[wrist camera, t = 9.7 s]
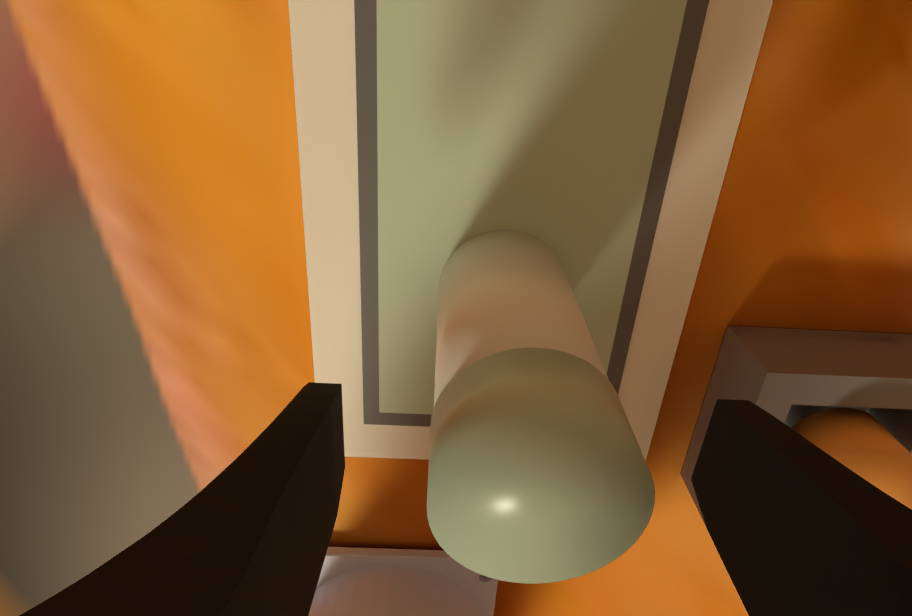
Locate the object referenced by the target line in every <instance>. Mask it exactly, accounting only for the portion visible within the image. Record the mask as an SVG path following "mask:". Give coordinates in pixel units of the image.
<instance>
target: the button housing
mask: <svg viewBox="0 0 912 616" xmlns="http://www.w3.org/2000/svg"><path fill="white" fill-rule="evenodd" d="M717 399H729V400H749V401H750V402H752V403H754V404H755V405H757V406H759V407H760V408H762V409H763V410H765V411H767V412H768V413H770V414H771V415H773V416H774V417H775V418H777V419H778V420H780V421H781V422H783V423H784V424H786V425H787V426H789V427H790V428H791V427H792V426H793V425H794V424H796V423H797V422H799V421H800V420H802V419H804V418H806V417H808V416H810V415H812V414H815V413H817V412H820V411H824V410H828V409H834V408H854V409H858V410H862V411H865V412H867V413H869V414H870V415H872V416H873V417H874V418H876V419H877V420H878V421H879V422H880V423H881V424H882V425H883V426H884V427H885V428H886V429H887V430H888V431H889V432H890V433H891V434H892V435H893V436H894V437H895V438H896V439H897V440H898V441H899V442H900V443H901V444H902V445H903V446H904V447H905V448H906V449H907V450H908V451H909V452H910V453H911V454H912V334H897V333H876V332H854V331H832V330H810V329H788V328H766V327H744V326H727V329H726V332H725V336H724V339H723V342H722V345H721V348H720V351H719V354H718V358H717V361H716V364H715V367H714V370H713V373H712V376H711V380H710V383H709V386H708V389H707V392H706V395H705V398H704V402H703V405H702V408H701V411H700V414H699V417H698V420H697V423H696V427H695V430H694V433H693V436H692V439H691V442H690V445H689V449H688V452H687V455H686V458H685V461H684V464H683V467H682V471H681V476H682V478H683V480H684V482H685V484H686V486H687V488H688V490H689V492H690V494H691V497H692V499H693V501H694V503H695V505H696V507H697V509H698V511H699V513H700V515H701V517H702V519H703V521H704V518H703V515H702V512H701V509H700V507H699V503H698V500H697V497H696V494H695V490H694V487H693V484H692V481H691V477H692V474H693V471H694V468H695V465H696V462H697V459H698V456H699V453H700V450H701V446H702V443H703V440H704V437H705V434H706V431H707V428H708V425H709V422H710V419H711V416H712V413H713V410H714V407H715V404H716V401H717ZM704 523H705V521H704ZM705 525H706V524H705ZM707 530H708V529H707Z"/></svg>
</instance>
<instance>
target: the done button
mask: <svg viewBox="0 0 912 616" xmlns="http://www.w3.org/2000/svg"><path fill="white" fill-rule="evenodd" d="M791 429H793V430H794V431H796V432H797V433H799V434H800V435H801V436H803V437H804V438H806V439H807V440H809V441H810V442H811V443H813V444H814V445H816V446H817V447H818V448H820V449H821V450H823V451H824V452H826V453H827V454H828V455H830V456H831V457H833V458H834V459H836V460H837V461H839V462H840V463H841V464H843V465H844V466H846V467H847V468H849V469H850V470H852V471H853V472H855V473H856V474H857V475H859V476H860V477H862V478H863V479H865V480H866V481H868V482H869V483H871V484H872V485H874V486H875V487H877V488H878V489H880V490H881V491H883V492H885V493H886V494H888V495H889V496H891V497H892V498H894V499H896V500H897V501H899V502H900V503H902V504H903V505H905V506H907V507H908V508H910V509H911V510H912V454H911V453H910V452H909V451H908V450H907V449H906V448H905V447H904V446H903V445H902V444H901V443H900V442H899V441H898V440H897V439H896V438H895V437H894V436H893V435H892V434H891V433H890V432H889V431H888V430H887V429H886V428H885V427H884V426H883V425H882V424H881V423H880V422H879V421H878V420H877V419H876V418H874V417H873V416H872V415H870V414H869V413H867V412H865V411H862V410H858V409H854V408H834V409H828V410H824V411H820V412H817V413H815V414H812V415H810V416H808V417H806V418H804V419H802V420H800V421H799V422H797V423H796V424H794V425H793V426H792V427H791Z"/></svg>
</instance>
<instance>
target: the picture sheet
mask: <svg viewBox="0 0 912 616" xmlns="http://www.w3.org/2000/svg"><path fill="white" fill-rule="evenodd" d="M288 3H289V17H290V32H291V46H292V60H293V75H294V89H295V104H296V118H297V132H298V147H299V161H300V175H301V190H302V204H303V219H304V233H305V247H306V262H307V276H308V291H309V305H310V319H311V334H312V348H313V362H314V377H315V383H335V384H342V408H343V432H344V455H345V457H369V458H396V459H423V460H429V445H430V424H431V417H432V412H433V409H434V390H435V365H436V341H437V317H438V293H439V280H440V276H441V272H442V270H443V268H444V265H445V263H446V262H447V260H448V258H449V257H450V256H451V255H452V253H453V252H454V251H455V250H456V249H457V248H458V247H459V246H460V245H462V244H463V243H465V242H466V241H467V240H469V239H471V238H473V237H475V236H477V235H480V234H482V233H486V232H490V231H496V230H513V231H519V232H523V233H527V234H529V235H532V236H534V237H536V238H538V239H540V240H541V241H542V242H544V243H545V244H547V245H548V246H549V247H550V248H551V249H552V250H553V252H554V253H555V254H556V256H557V257H558V259H559V261H560V262H561V264H562V267H563V269H564V272H565V274H566V277H567V279H568V282H569V284H570V286H571V289H572V291H573V294H574V296H575V299H576V301H577V304H578V306H579V308H580V311H581V313H582V316H583V318H584V321H585V323H586V326H587V328H588V330H589V333H590V335H591V338H592V340H593V343H594V345H595V348H596V350H597V352H598V355H599V357H600V360H601V362H602V365H603V367H604V370H605V372H606V375H607V377H608V379H609V381H610V382H611V384H612V385H613V387H614V389H615V390H616V392H617V394H618V397H619V399H620V401H621V404H622V406H623V409H624V411H625V413H626V416H627V418H628V421H629V423H630V425H631V428H632V430H633V433H634V435H635V437H636V440H637V442H638V445H639V447H640V449H641V452H642V454H643V457H644V459H645V461H646V458H647V454H648V451H649V447H650V444H651V440H652V436H653V433H654V429H655V425H656V422H657V418H658V415H659V411H660V407H661V404H662V400H663V397H664V393H665V389H666V386H667V382H668V379H669V375H670V371H671V368H672V364H673V361H674V357H675V353H676V350H677V346H678V342H679V339H680V335H681V332H682V328H683V324H684V321H685V317H686V314H687V310H688V306H689V303H690V299H691V296H692V292H693V288H694V285H695V281H696V278H697V274H698V270H699V267H700V263H701V259H702V256H703V252H704V249H705V245H706V241H707V238H708V234H709V231H710V227H711V223H712V220H713V216H714V213H715V209H716V205H717V202H718V198H719V195H720V191H721V187H722V184H723V180H724V177H725V173H726V169H727V166H728V162H729V158H730V155H731V151H732V148H733V144H734V140H735V137H736V133H737V130H738V126H739V122H740V119H741V115H742V112H743V108H744V104H745V101H746V97H747V94H748V90H749V86H750V83H751V79H752V75H753V72H754V68H755V65H756V61H757V57H758V54H759V50H760V47H761V43H762V39H763V36H764V32H765V29H766V25H767V21H768V18H769V14H770V11H771V7H772V3H773V0H288Z"/></svg>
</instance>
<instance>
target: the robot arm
mask: <svg viewBox="0 0 912 616" xmlns="http://www.w3.org/2000/svg"><path fill="white" fill-rule="evenodd" d="M344 469H345V455H344V432H343V408H342V384H335V383H310V382H309V383H308V384H307V385H305V386H304V387H303V388H302V389H301V391H300V392H299V393H298V394H297V395H296V396H295V397H294V398H293V400H292V401H291V402H290V403H289V404H288V405H287V406H286V408H285V409H284V410H283V411H282V412H281V413H280V414H279V415H278V416H277V417H276V419H275V420H274V421H273V422H272V423H271V424H270V425H269V426H268V427H267V428H266V429H265V430H264V431H263V432H262V433H261V434H260V435H259V436H258V437H257V438H256V439H255V440H254V442H253V443H252V444H251V445H250V446H249V447H248V448H247V449H246V450H245V451H244V452H243V453H242V454H241V455H240V456H239V457H238V458H237V459H236V460H234V461H233V462H232V463H231V464H230V465H229V466H228V467H227V468H226V469H225V470H224V471H223V472H221V473H220V474H219V475H218V476H217V477H216V478H215V479H214V480H213V481H212V482H211V483H209V484H208V485H207V486H206V487H205V488H204V489H203V490H202V491H201V492H199V493H198V494H197V495H196V496H195V497H193V498H192V499H191V500H190V501H189V502H188V503H186V504H185V505H184V506H183V507H182V508H180V509H179V510H178V511H177V512H175V513H174V514H173V515H171V516H170V517H169V518H168V519H166V520H165V521H164V522H162V523H161V524H160V525H159V526H157V527H156V528H155V529H153V530H152V531H151V532H150V533H148V534H147V535H145V536H144V537H142V538H141V539H140V540H138V541H137V542H136V543H134V544H132V545H131V546H129V547H128V548H126V549H125V550H124V551H122V552H121V553H119V554H118V555H116V556H115V557H113V558H112V559H110V560H109V561H107V562H106V563H105V564H103V565H101V566H100V567H99V568H97V569H96V570H94V571H93V572H91V573H90V574H88V575H86V576H85V577H83V578H82V579H80V580H79V581H77V582H76V583H74V584H72V585H71V586H69V587H67V588H66V589H64V590H62V591H61V592H59V593H57V594H56V595H54V596H52V597H51V598H49V599H48V600H46V601H44V602H42V603H41V604H39V605H37V606H35V607H34V608H32V609H30V610H29V611H27V612H25V613H23V614H22V615H20V616H493V614H494V607H495V600H496V592H497V585H498V580H497V579H493V578H489V577H486V576H484V575H481V574H478V573H476V572H474V571H472V570H470V569H468V568H466V567H464V566H463V565H461V564H460V563H458V562H457V561H455V560H454V559H453V558H452V557H450V556H449V555H448V554H447V553H446V552H445V551H444V550H418V549H386V548H354V547H328V546H329V542H330V539H331V535H332V531H333V528H334V524H335V521H336V517H337V512H338V506H339V500H340V495H341V488H342V482H343V476H344ZM691 481H692V484H693V487H694V490H695V494H696V497H697V500H698V503H699V507H700V509H701V512H702V515H703V518H704V521H705V524H706V527H707V529H708V531H709V533H710V536H711V538H712V540H713V542H714V544H715V546H716V548H717V551H718V553H719V555H720V557H721V559H722V561H723V563H724V565H725V567H726V569H727V571H728V573H729V575H730V578H731V580H732V582H733V584H734V586H735V588H736V590H737V592H738V594H739V596H740V598H741V600H742V602H743V604H744V606H745V608H746V610H747V612H748V614H749V616H912V510H911V509H910V508H908V507H907V506H905V505H903V504H902V503H900V502H899V501H897V500H896V499H894V498H892V497H891V496H889V495H888V494H886V493H885V492H883V491H881V490H880V489H878V488H877V487H875V486H874V485H872V484H871V483H869V482H868V481H866V480H865V479H863V478H862V477H860V476H859V475H857V474H856V473H855V472H853V471H852V470H850V469H849V468H847V467H846V466H844V465H843V464H841V463H840V462H839V461H837V460H836V459H834V458H833V457H831V456H830V455H828V454H827V453H826V452H824V451H823V450H821V449H820V448H818V447H817V446H816V445H814V444H813V443H811V442H810V441H809V440H807V439H806V438H804V437H803V436H801V435H800V434H799V433H797V432H796V431H794V430H793V429H791V428H790V427H789V426H787V425H786V424H784V423H783V422H781V421H780V420H778V419H777V418H775V417H774V416H773V415H771V414H770V413H768V412H767V411H765V410H763V409H762V408H760V407H759V406H757V405H755V404H754V403H752V402H750V401H749V400H729V399H717V401H716V404H715V407H714V410H713V413H712V416H711V419H710V422H709V425H708V428H707V431H706V434H705V437H704V440H703V443H702V446H701V450H700V453H699V456H698V459H697V462H696V465H695V468H694V471H693V474H692V477H691Z"/></svg>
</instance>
